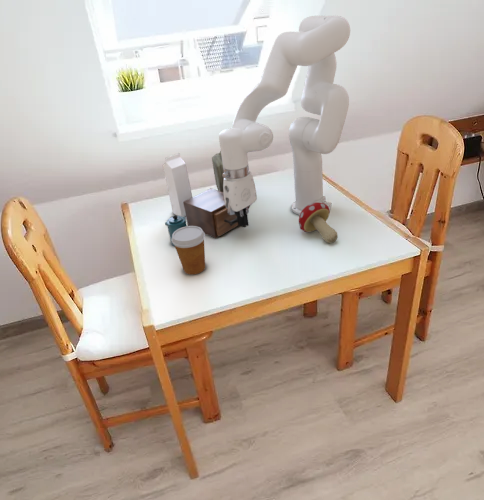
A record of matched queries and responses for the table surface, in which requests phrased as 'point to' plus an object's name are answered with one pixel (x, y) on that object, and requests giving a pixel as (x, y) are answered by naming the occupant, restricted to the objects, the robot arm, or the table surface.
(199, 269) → the disposable coffee cup
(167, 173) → the milk
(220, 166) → the green bell
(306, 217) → the decorative mushroom
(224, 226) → the drawer
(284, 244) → the table surface
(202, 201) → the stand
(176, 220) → the kettle
